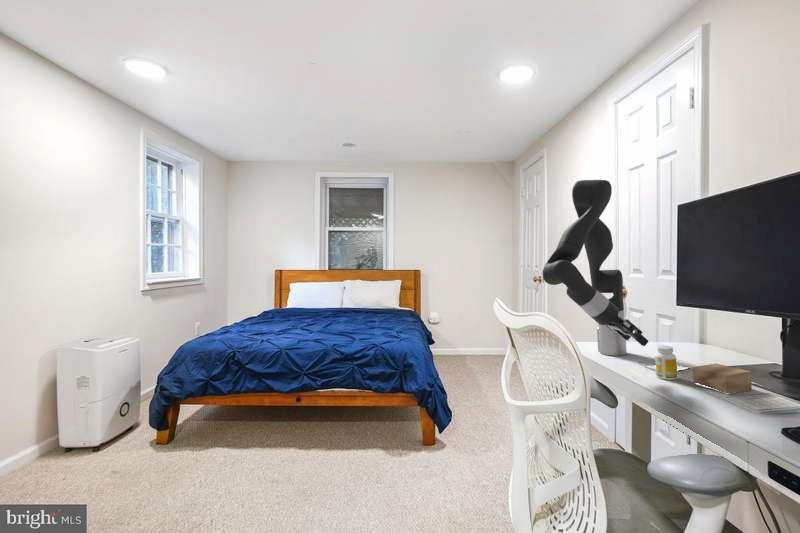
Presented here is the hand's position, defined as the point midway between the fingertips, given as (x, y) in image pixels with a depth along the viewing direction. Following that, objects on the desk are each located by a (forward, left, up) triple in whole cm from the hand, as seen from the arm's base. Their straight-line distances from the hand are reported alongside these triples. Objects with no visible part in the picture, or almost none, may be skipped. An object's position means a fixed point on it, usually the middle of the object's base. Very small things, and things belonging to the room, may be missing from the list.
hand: (637, 340), depth 115 cm
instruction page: (-5, +17, -12) cm, 22 cm away
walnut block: (+14, +14, -12) cm, 23 cm away
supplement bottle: (+2, +8, -12) cm, 15 cm away
